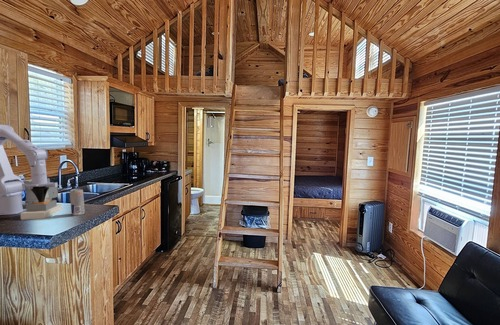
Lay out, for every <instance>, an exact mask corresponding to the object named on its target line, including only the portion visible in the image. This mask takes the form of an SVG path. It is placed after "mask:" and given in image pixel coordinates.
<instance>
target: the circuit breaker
mask: <svg viewBox="0 0 500 325" xmlns="http://www.w3.org/2000/svg"><path fill="white" fill-rule="evenodd" d="M22 181H23V182H24V184H25V183H32V178H31V179H25V180H22ZM47 182H51V180H50V178H49V177H47ZM31 189H33V188H25V190H24V191H25V200H24V205H25V207H26V205H28V204H30V203H33V202H36V201H38V199H37V197H36V195H35V194H34V193H33V192H32V191H31ZM58 190H59V188H58V186H57V187H49V189H48V191H47V193H46V196H45V200H53V199H55V198H58V197H59V192H58Z"/></svg>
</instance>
